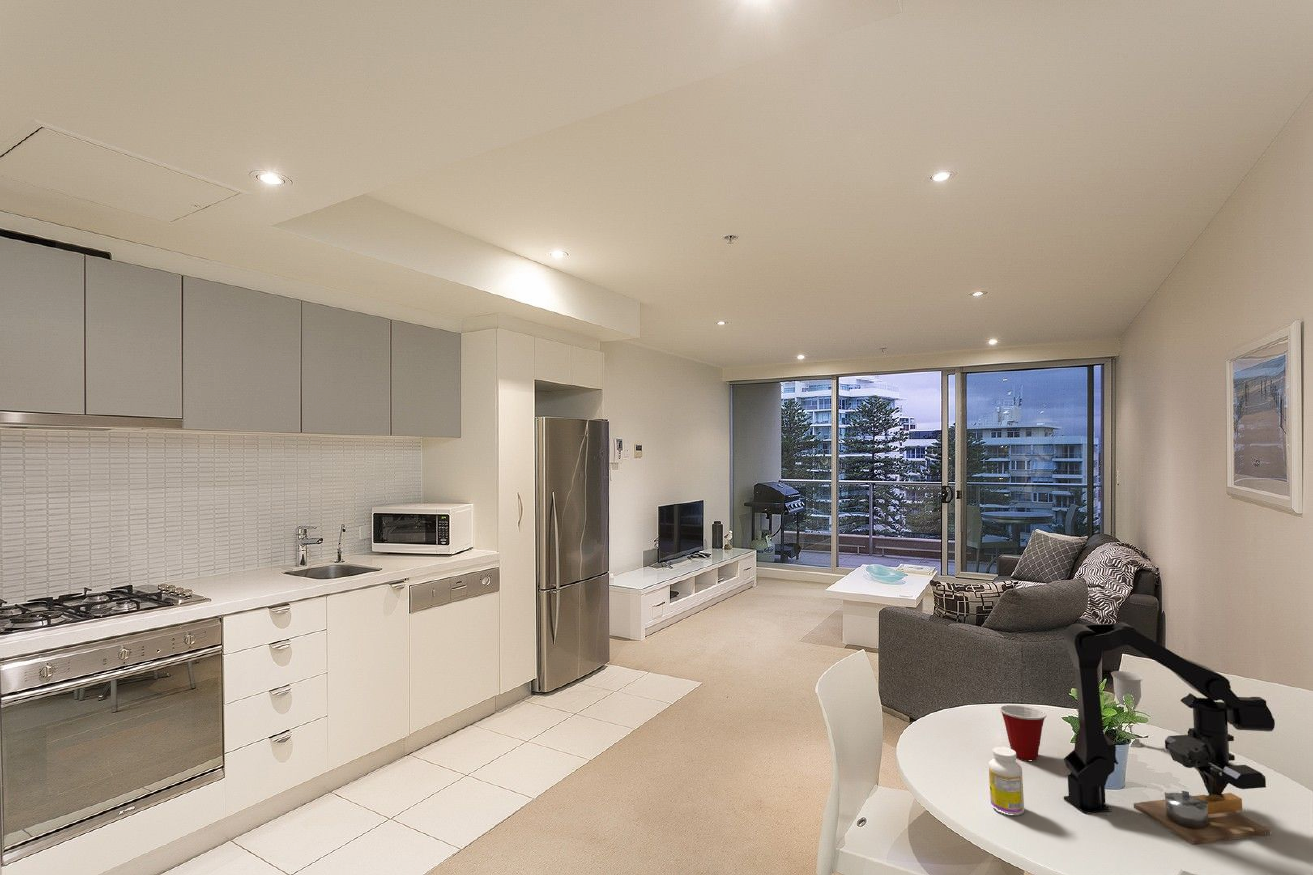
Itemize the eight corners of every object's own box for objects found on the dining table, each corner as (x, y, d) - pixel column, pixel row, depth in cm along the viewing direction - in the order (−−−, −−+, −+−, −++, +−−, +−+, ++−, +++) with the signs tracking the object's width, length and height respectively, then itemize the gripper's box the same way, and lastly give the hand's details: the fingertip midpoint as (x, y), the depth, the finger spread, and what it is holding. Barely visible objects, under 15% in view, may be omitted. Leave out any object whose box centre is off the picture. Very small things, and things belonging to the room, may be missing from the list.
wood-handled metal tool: (1187, 830, 134) (1186, 808, 134) (1157, 811, 141) (1156, 791, 141) (1253, 822, 136) (1252, 801, 136) (1221, 804, 143) (1219, 784, 143)
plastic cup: (1049, 752, 173) (1047, 706, 173) (1048, 769, 164) (1045, 720, 164) (1003, 743, 179) (1000, 699, 179) (999, 759, 170) (997, 713, 170)
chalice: (1107, 737, 180) (1104, 671, 180) (1131, 736, 181) (1127, 670, 181) (1129, 749, 173) (1125, 680, 173) (1153, 747, 173) (1149, 679, 174)
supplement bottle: (996, 798, 151) (993, 741, 152) (1028, 808, 146) (1025, 750, 147) (986, 809, 147) (983, 751, 147) (1018, 820, 142) (1015, 760, 142)
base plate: (1193, 844, 131) (1193, 839, 131) (1133, 807, 145) (1133, 802, 145) (1270, 834, 134) (1270, 829, 134) (1204, 799, 148) (1204, 794, 148)
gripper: (1140, 712, 151) (1144, 780, 150) (1214, 750, 132) (1218, 827, 132) (1186, 709, 151) (1190, 777, 151) (1266, 746, 133) (1270, 823, 132)
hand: (1214, 800), depth 142 cm, fingers closed
